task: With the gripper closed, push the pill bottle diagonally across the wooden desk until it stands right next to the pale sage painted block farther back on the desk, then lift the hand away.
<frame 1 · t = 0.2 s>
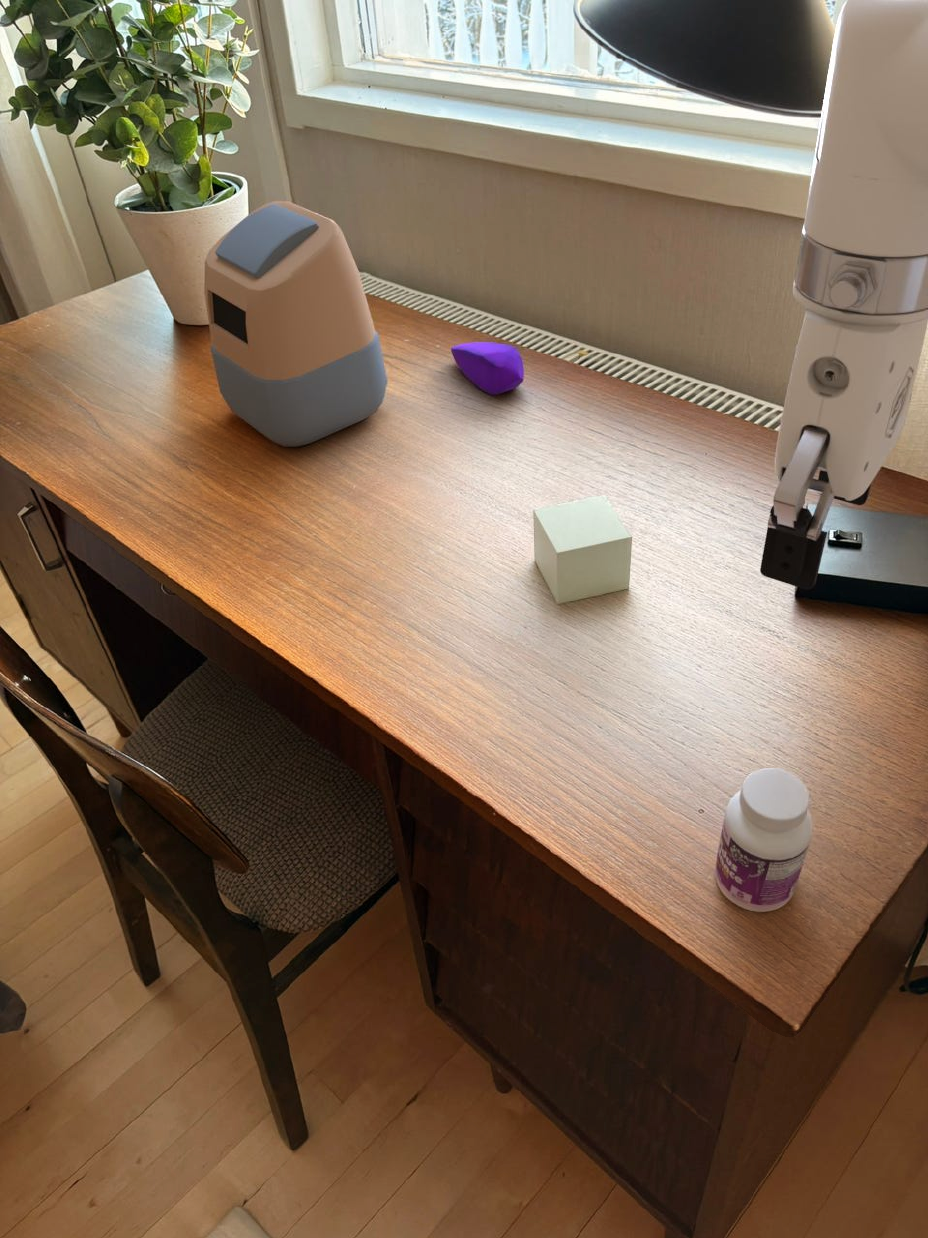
hand: (815, 537, 59), 20 cm above the table, tool pointing down, fingers open, 9 cm apart
alarm clock: (309, 415, 116), on the table
crystal: (486, 380, 119), on the table
pill bottle: (753, 882, 64), on the table
sage block: (580, 573, 89), on the table
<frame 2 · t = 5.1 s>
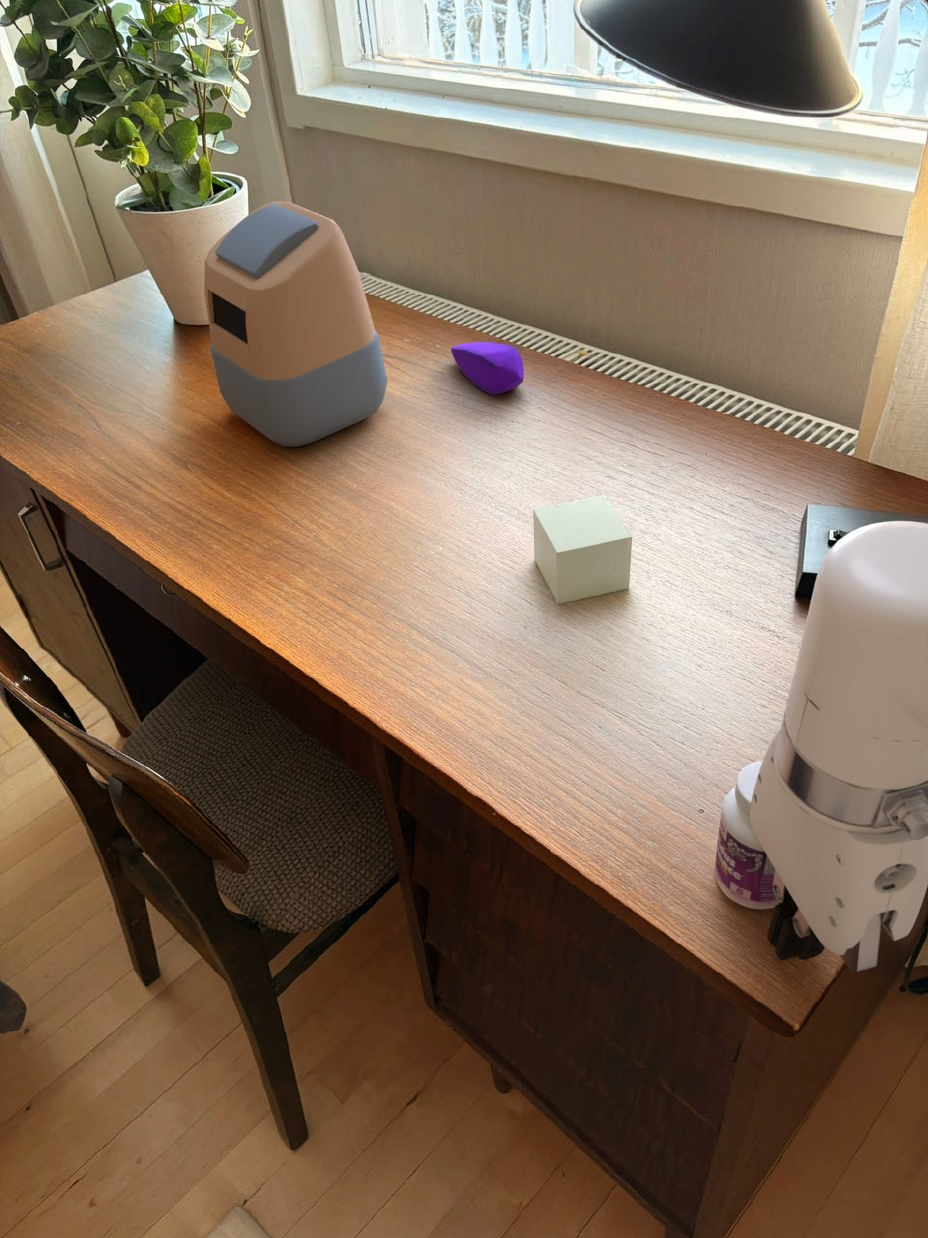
hand: (795, 943, 59), 1 cm above the table, tool pointing down, fingers closed
pill bottle: (753, 881, 64), on the table, touching gripper
everything else where it was.
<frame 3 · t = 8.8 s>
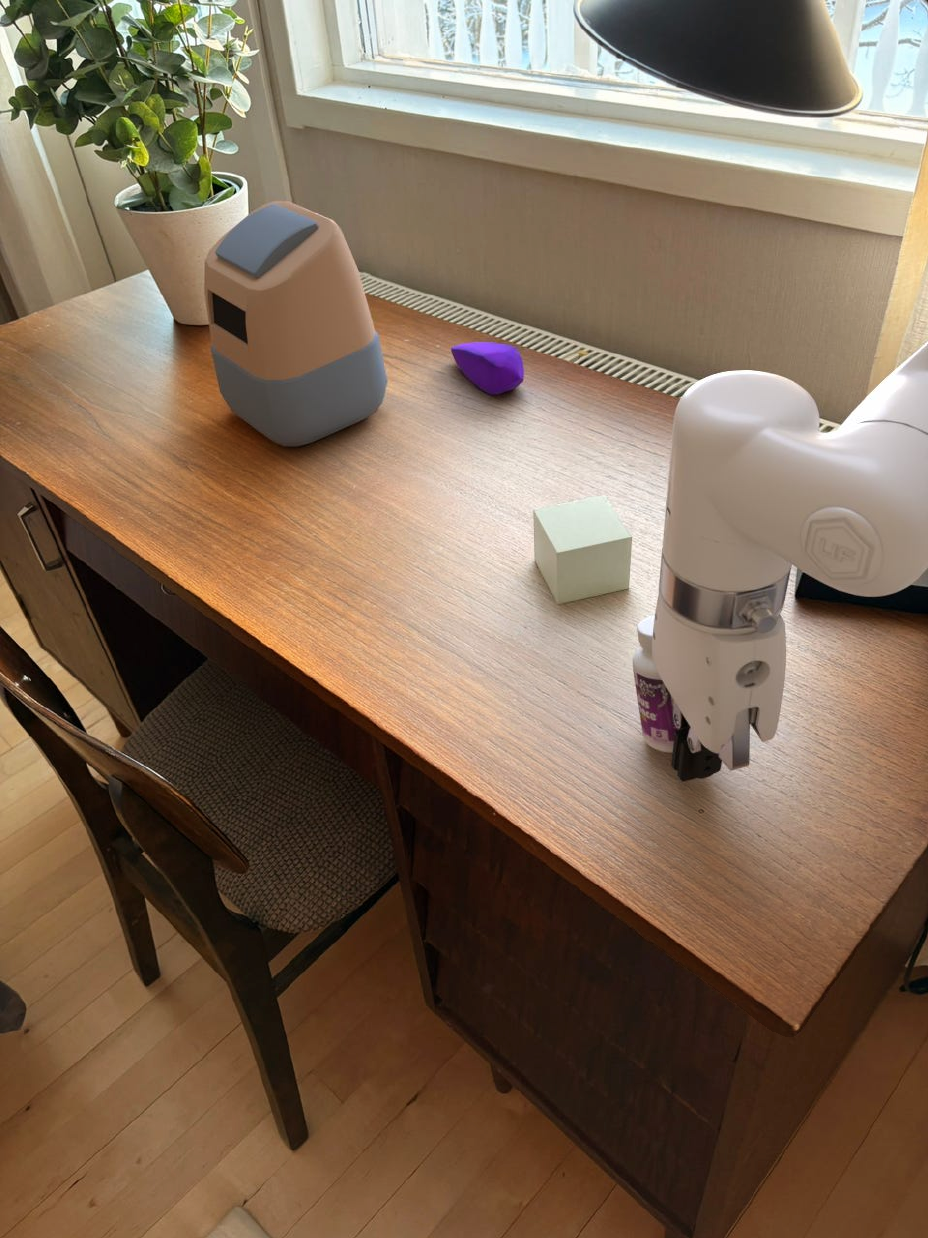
hand: (695, 769, 69), 1 cm above the table, tool pointing down, fingers closed
pill bottle: (677, 738, 73), point 1 cm above the table, touching gripper
everything else where it was.
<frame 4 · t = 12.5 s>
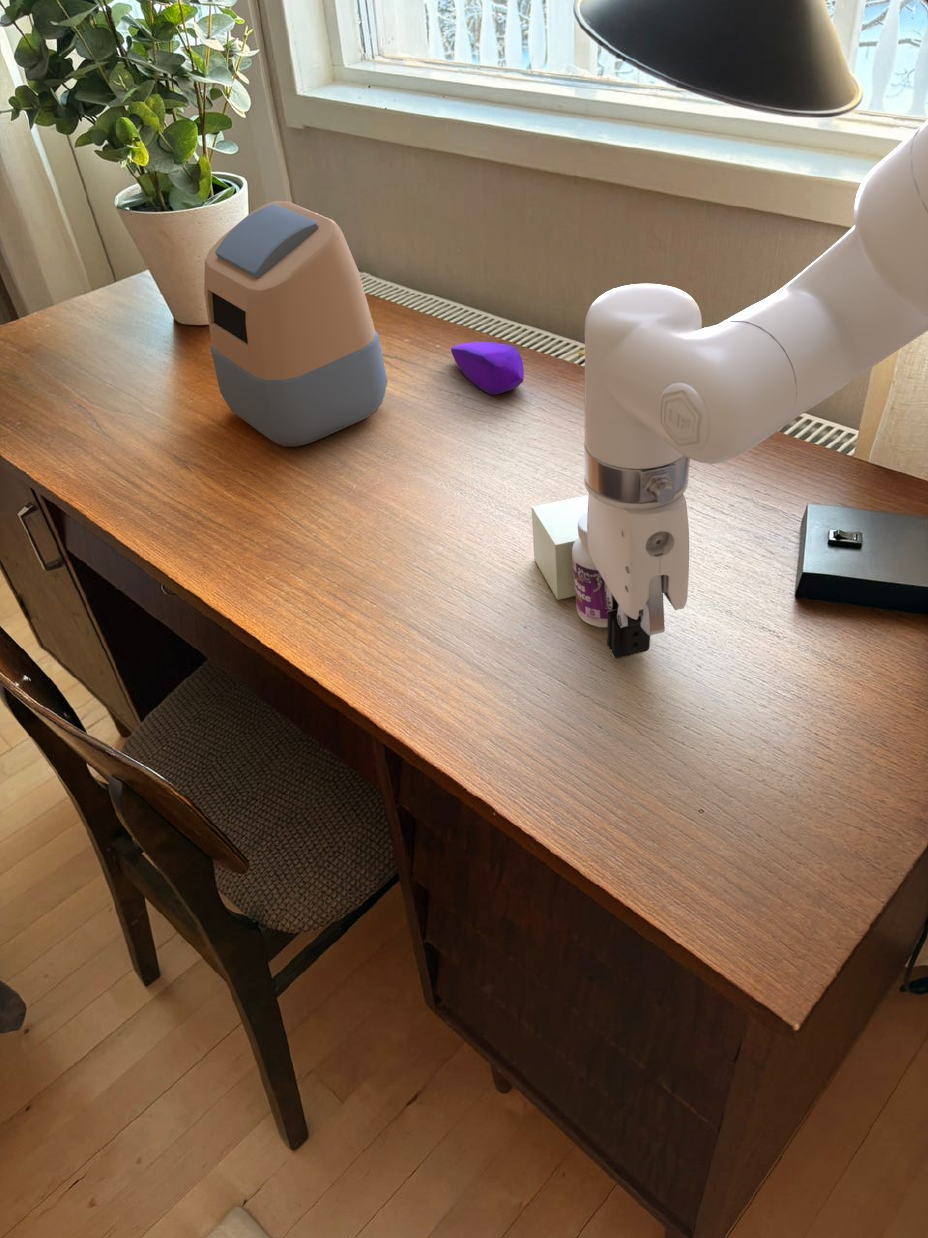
hand: (628, 648, 80), 1 cm above the table, tool pointing down, fingers closed
pill bottle: (606, 612, 85), on the table, touching gripper, sage block
sage block: (580, 571, 89), on the table, touching pill bottle
everything else where it was.
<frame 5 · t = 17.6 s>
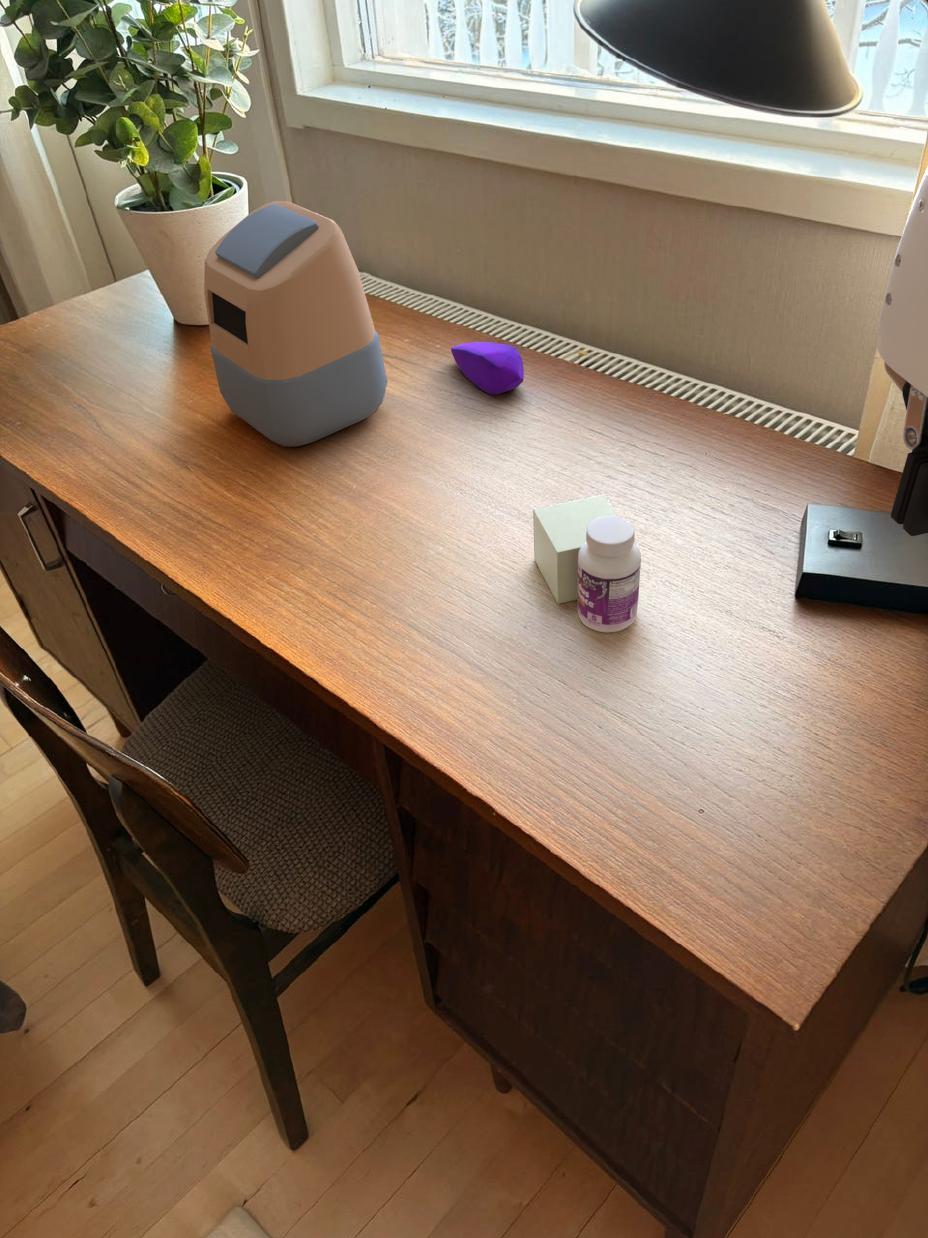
hand: (926, 521, 48), 27 cm above the table, tool pointing down, fingers closed
pill bottle: (607, 616, 85), on the table
sage block: (580, 573, 89), on the table
everything else where it was.
at the end: pill bottle 6.3 cm from the sage block (horizontally); pill bottle tilted 0°; pill bottle moved 28.5 cm from its start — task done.
